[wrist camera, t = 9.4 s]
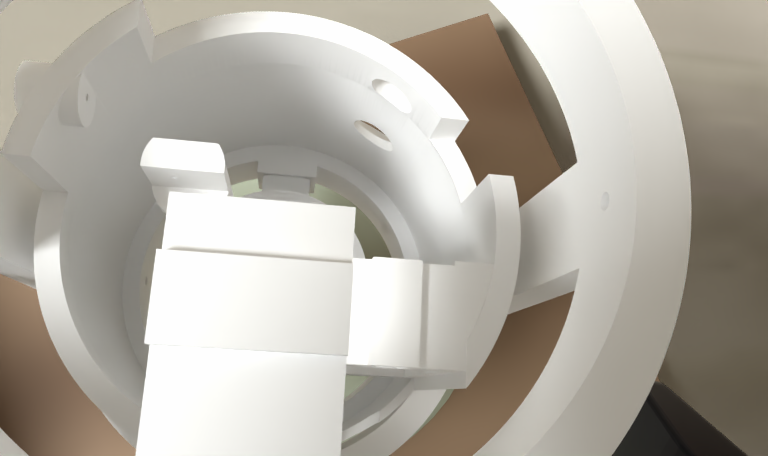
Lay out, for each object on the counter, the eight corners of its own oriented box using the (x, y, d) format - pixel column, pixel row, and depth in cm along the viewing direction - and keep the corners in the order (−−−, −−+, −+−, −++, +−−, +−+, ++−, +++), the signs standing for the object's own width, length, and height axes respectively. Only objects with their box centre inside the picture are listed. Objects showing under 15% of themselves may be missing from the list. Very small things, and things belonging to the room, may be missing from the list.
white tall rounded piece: (124, 455, 18) (-603, 733, 3) (160, 185, 19) (-206, -448, 5) (402, 465, 18) (840, 719, 4) (412, 207, 20) (747, -271, 6)
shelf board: (659, 435, 21) (852, 455, 14) (-113, 813, 17) (-416, 1135, 9) (475, 36, 24) (560, -121, 16) (-251, 268, 19) (-581, 189, 12)
